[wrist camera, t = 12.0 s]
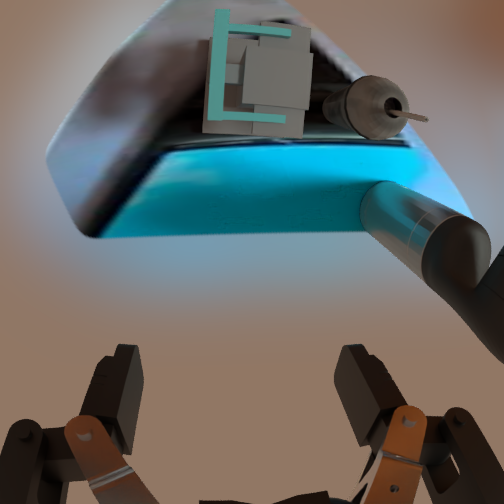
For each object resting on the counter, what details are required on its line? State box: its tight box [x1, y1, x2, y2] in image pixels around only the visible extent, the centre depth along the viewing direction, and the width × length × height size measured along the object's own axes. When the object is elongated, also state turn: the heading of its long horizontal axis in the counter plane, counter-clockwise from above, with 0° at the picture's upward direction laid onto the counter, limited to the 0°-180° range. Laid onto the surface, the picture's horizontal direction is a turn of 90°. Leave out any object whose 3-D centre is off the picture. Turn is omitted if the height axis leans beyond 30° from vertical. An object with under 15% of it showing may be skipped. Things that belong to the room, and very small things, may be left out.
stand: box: [202, 21, 313, 139], centre depth 33 cm, size 10×13×12 cm
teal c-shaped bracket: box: [207, 9, 291, 123], centre depth 25 cm, size 7×10×5 cm
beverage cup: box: [322, 75, 429, 141], centre depth 31 cm, size 7×7×20 cm
